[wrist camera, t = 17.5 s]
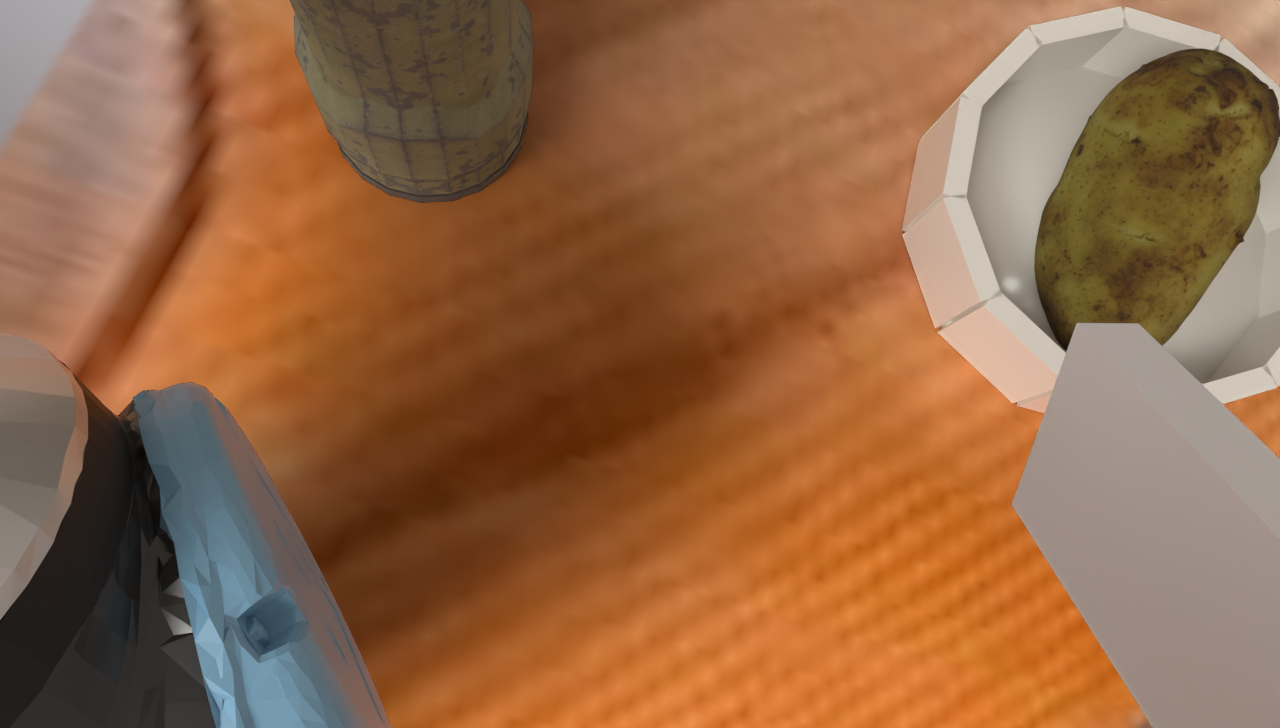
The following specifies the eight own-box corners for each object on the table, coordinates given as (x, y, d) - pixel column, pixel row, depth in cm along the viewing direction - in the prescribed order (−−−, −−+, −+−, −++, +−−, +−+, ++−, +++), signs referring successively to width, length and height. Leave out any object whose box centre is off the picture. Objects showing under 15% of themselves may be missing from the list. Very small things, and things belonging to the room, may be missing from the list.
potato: (946, 282, 43) (1039, 218, 36) (1091, 86, 46) (1206, -12, 39) (1093, 399, 43) (1220, 361, 35) (1230, 194, 46) (1374, 117, 38)
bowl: (1248, 469, 44) (1328, 457, 40) (875, 367, 43) (915, 344, 39) (1281, 121, 48) (1356, 76, 44) (941, 20, 47) (984, -37, 43)
